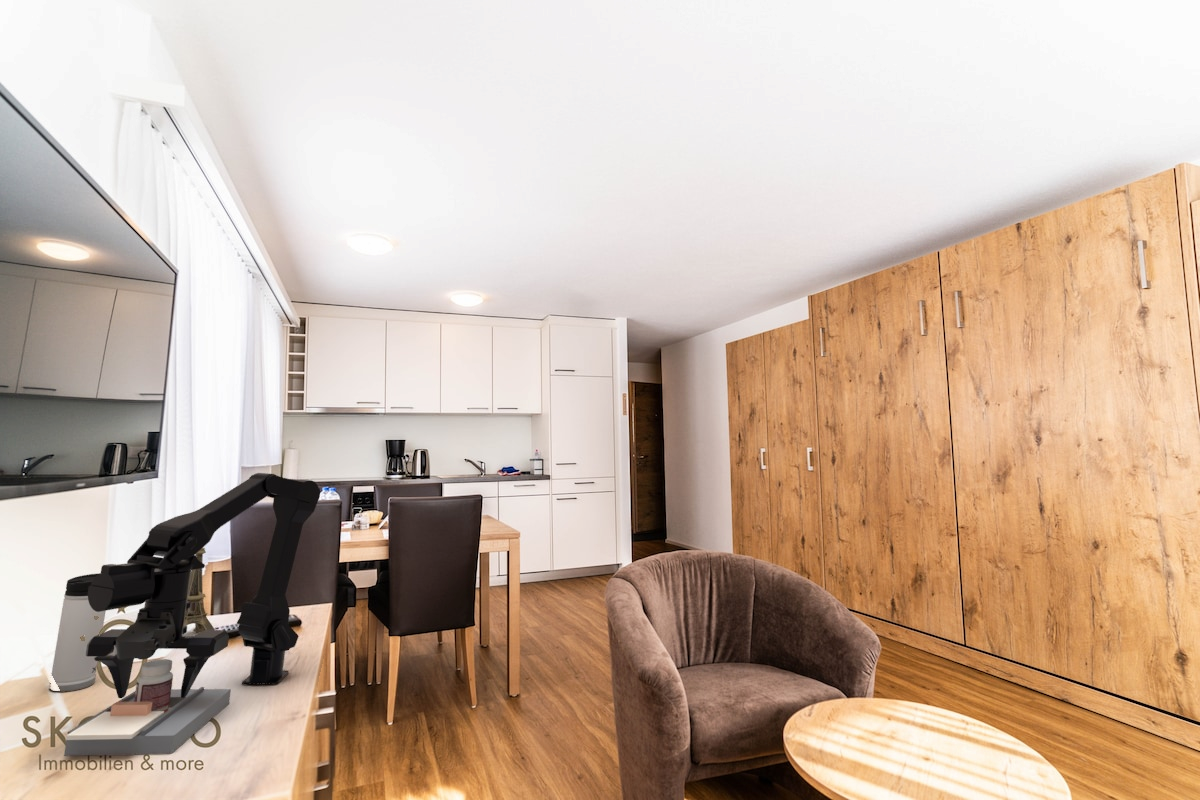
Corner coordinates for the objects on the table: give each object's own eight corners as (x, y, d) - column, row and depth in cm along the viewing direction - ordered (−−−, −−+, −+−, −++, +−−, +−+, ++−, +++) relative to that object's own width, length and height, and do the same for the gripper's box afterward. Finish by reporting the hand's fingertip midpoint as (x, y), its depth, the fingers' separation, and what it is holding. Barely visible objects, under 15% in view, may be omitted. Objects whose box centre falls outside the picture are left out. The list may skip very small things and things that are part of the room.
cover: (104, 715, 89) (106, 700, 89) (163, 715, 90) (165, 700, 90) (65, 740, 81) (67, 723, 81) (131, 738, 82) (133, 722, 83)
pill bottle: (175, 712, 96) (182, 660, 97) (147, 724, 91) (155, 669, 92) (152, 708, 97) (159, 656, 98) (123, 720, 92) (131, 665, 93)
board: (141, 704, 100) (144, 685, 100) (229, 703, 102) (231, 684, 102) (64, 755, 82) (67, 732, 83) (171, 753, 84) (174, 730, 85)
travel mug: (104, 682, 108) (121, 573, 111) (62, 694, 102) (81, 579, 104) (83, 677, 110) (100, 570, 113) (40, 688, 104) (59, 575, 106)
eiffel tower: (167, 647, 130) (183, 534, 133) (154, 636, 136) (169, 529, 139) (220, 638, 138) (234, 532, 141) (205, 628, 144) (219, 527, 147)
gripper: (68, 610, 87) (50, 719, 85) (202, 612, 90) (188, 717, 88) (116, 594, 98) (102, 690, 96) (235, 596, 101) (223, 689, 99)
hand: (152, 697), depth 94 cm, fingers open, 9 cm apart
